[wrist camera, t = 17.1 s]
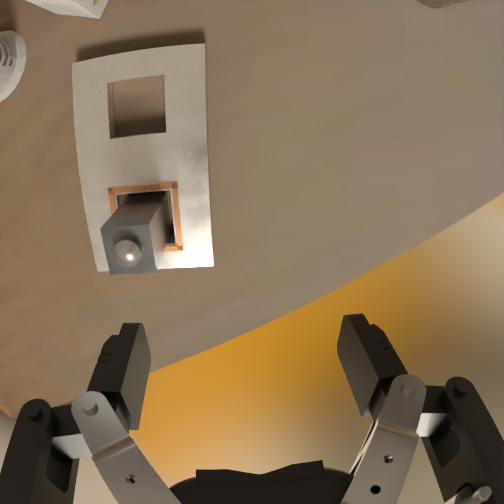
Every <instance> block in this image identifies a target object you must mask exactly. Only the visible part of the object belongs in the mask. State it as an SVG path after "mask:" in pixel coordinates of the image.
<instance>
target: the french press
mask: <svg viewBox="0 0 504 504" xmlns="http://www.w3.org/2000/svg"><path fill="white" fill-rule="evenodd" d="M26 58H27V54H26V43H25V42H24V40H23V38H22V37H21V35H20V34H19V33H16V32H14V31H12V30H10V31H4V32H0V101H2V100H3V99H5V98H7V97H8V96H9V94H10V93H11V92H12V91H13V90H14V89H15V88H16V86H17V84H18V82H19V80H20V78H21V76H22V74H23V72H24V67H25V62H26Z"/></svg>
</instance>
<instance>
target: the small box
mask: <svg viewBox="0 0 504 504" xmlns="http://www.w3.org/2000/svg"><path fill="white" fill-rule="evenodd" d="M26 1H29V2H31V3H33V4H36V5H38V6H40V7H42V8H45V9H47V10H49V11H52V12H54V13H56V14H63V15H74V16H83V17H91V18H98V19H99V18H101V16H102V14H103V11H104V9H105V7H106V5H107V3H108V1H109V0H26Z"/></svg>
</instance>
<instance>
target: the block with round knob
mask: <svg viewBox="0 0 504 504" xmlns="http://www.w3.org/2000/svg"><path fill="white" fill-rule="evenodd" d="M100 231H101V236H102V240H103V245H104V250H105V254H106V259H107V263H108V267H109V271H110V275H113V274H132V273H149V272H157V270H158V267H159V264H160V261H161V258H162V255H163V252H164V249H165V246H166V243H167V240H168V237H169V234H170V231H171V226H170V217H169V209H168V200H167V192H165V193H154V194H144V195H134V196H128V198H127V199H126V200H125V201H124V202H123V203H122V204H121V205H120V206H119V207H118V209H117V210H116V211H115V212H114V213H113V214H112V215H111V216H110V218H109V219H108V220H107V221H106V222H105V223H104V225H103V226H102V227H101V228H100Z"/></svg>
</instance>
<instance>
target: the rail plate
mask: <svg viewBox="0 0 504 504" xmlns="http://www.w3.org/2000/svg"><path fill="white" fill-rule="evenodd" d="M158 77H164V79H165V113H166V132H155V133H146V134H137V135H129V136H121V137H116V134H115V119H114V99H113V84H116V83H122V82H128V81H135V80H142V79H150V78H158ZM72 82H73V109H74V125H75V137H76V148H77V157H78V166H79V174H80V181H81V188H82V195H83V201H84V207H85V213H86V218H87V224H88V229H89V234H90V239H91V244H92V248H93V253H94V257H95V262H96V266H97V270H98V271H109V267H108V263H107V259H106V254H105V250H104V245H103V240H102V236H101V231H100V228H101V227H102V226H103V225H104V223H105V222H106V221H107V220H108V219H109V218H110V216H111V215H112V214H113V213H114V212H115V211H116V210H117V209H118V207H119V206H120V205H121V204H122V203H123V202H122V194H130V193H141V192H153V191H166V190H170V192H171V203H172V214H173V224H174V233H175V237H168V240H167V243H166V246H165V249H164V252H163V255H162V258H161V261H160V264H159V267H158V269H164V268H185V267H204V266H214V256H213V240H212V224H211V206H210V186H209V164H208V137H207V102H206V46H205V43H203V44H188V45H177V46H167V47H158V48H150V49H143V50H136V51H130V52H124V53H118V54H113V55H108V56H103V57H98V58H93V59H89V60H85V61H81V62H76V63H73V64H72Z"/></svg>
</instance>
